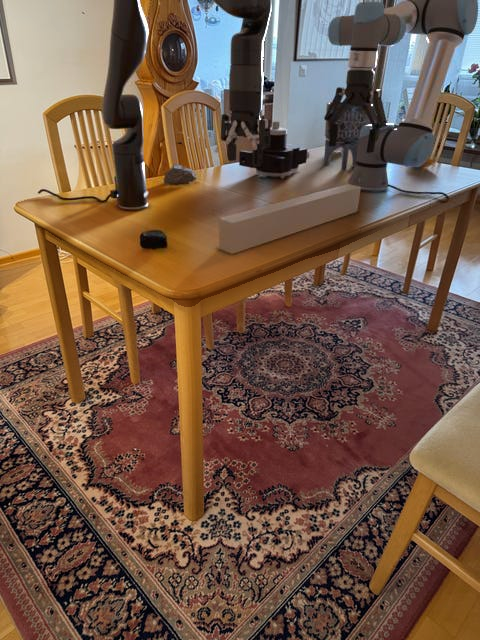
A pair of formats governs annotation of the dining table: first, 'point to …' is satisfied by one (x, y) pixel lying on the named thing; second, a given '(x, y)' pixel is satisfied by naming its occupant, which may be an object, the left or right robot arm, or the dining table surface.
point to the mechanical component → (276, 155)
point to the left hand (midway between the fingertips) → (244, 163)
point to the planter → (346, 134)
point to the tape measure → (153, 239)
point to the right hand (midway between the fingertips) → (350, 149)
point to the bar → (286, 217)
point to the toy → (428, 163)
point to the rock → (179, 175)
